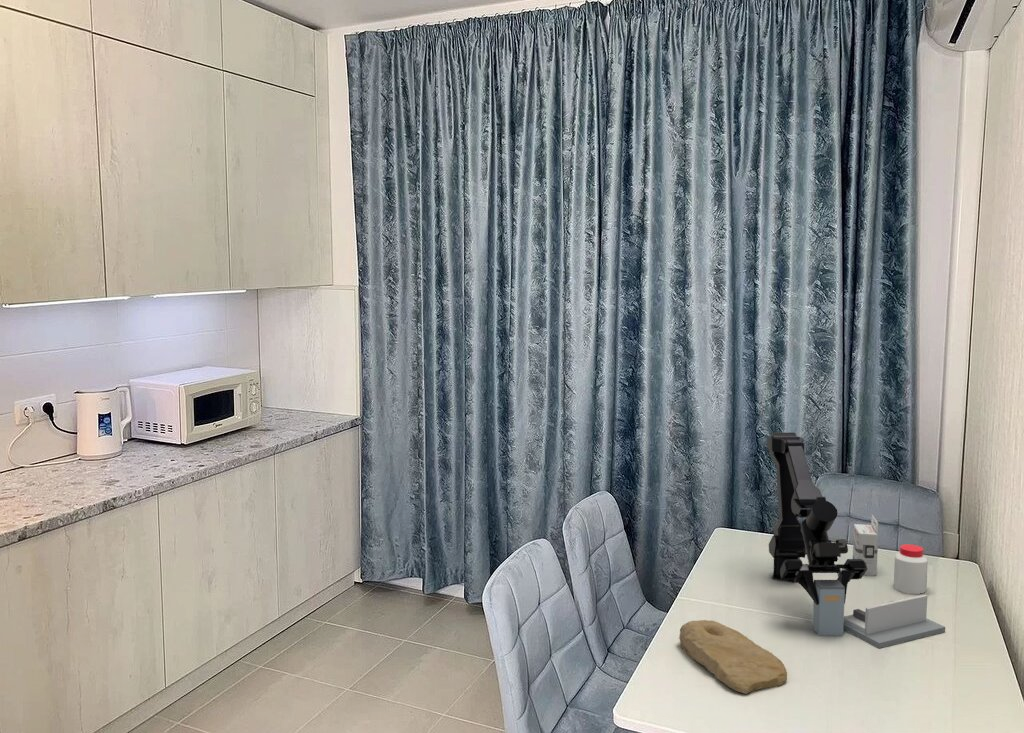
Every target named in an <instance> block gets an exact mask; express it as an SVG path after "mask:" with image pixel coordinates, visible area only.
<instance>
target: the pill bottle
mask: <svg viewBox="0 0 1024 733" xmlns="http://www.w3.org/2000/svg"><path fill="white" fill-rule="evenodd" d="M928 562H929V560H928V557H927V556H926V555H924V547H922V546H919V545H916V544H908V543H907V544H905V543H904V544H902V545H900V546H899V551H898V552H896V554H894V564H893V566H894V567H893V568H894V569H893V570H894V572H893V589H895V590H896V591H899V592H900V591H901V592H900V593H903V592H904V594H907V593H909V594H908V595H921V594H920V593H923V594H925V593H926V592H927V587H928V586H927V585H928V584H927V583H928ZM924 592H925V593H924Z"/></svg>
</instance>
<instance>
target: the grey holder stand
mask: <svg viewBox="0 0 1024 733" xmlns="http://www.w3.org/2000/svg"><path fill="white" fill-rule="evenodd" d="M927 606H928V595H926V594H919V595H917V596H911V597H908V598H903V599H899V600H892V601H888V602H885V603H881V604H875V605H871V606H867V607H865V611H864V610H862V609H860V608H856V609H853V610H852V611H853V612H852V614H849V615H848V614H847V615H844V627H843V631H846V632H848V633H849V634H850V635H851V634H852V635H854V636H855V637H857V638H859V639H861V640H862V641H865V642H866V643H869V644H870V645H872V646H874V647H875V648H878V649H882V648H886V647H889V646H893V645H897V644H902V643H906V642H910V641H915V640H917V639H922V638H926V637H930V636H934V635H935V636H936V635H938V634H942V633H946V626H944V625H942V624H940V623H938V622H936V621H933V620H931V619H929V618H927V612H928V611H927V610H928V607H927Z"/></svg>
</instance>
